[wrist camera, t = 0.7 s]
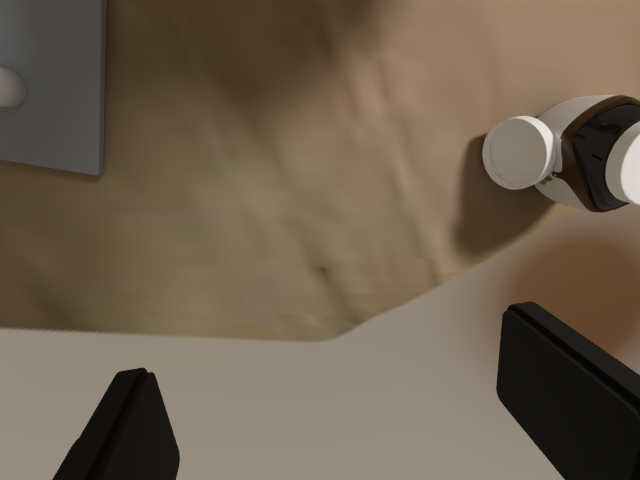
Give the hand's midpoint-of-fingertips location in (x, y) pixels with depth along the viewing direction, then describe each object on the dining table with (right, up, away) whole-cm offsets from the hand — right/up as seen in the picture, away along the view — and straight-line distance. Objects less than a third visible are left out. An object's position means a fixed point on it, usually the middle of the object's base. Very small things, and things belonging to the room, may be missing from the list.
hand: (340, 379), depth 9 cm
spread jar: (+22, +13, +29) cm, 39 cm away
